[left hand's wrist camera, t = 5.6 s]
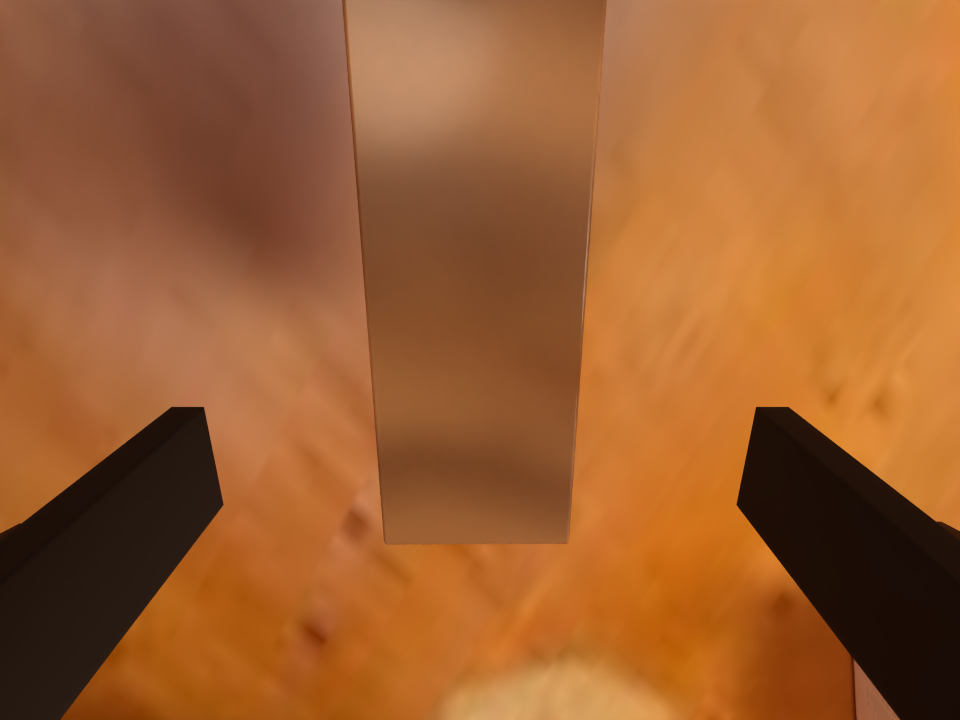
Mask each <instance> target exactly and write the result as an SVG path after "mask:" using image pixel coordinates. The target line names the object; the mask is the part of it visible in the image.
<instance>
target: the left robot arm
mask: <svg viewBox="0 0 960 720" xmlns="http://www.w3.org/2000/svg"><path fill="white" fill-rule="evenodd" d="M222 506H223V500H222V495H221V490H220V485H219V480H218V475H217V470H216V465H215V460H214V455H213V450H212V445H211V440H210V435H209V430H208V425H207V420H206V415H205V410H204V407H171V408H170V409H168V410H167V411H166V412H165V413H163V414H162V415H161V416H159V417H158V418H157V419H156V420H154V421H153V422H152V423H150V424H149V425H148V426H147V427H145V428H144V429H143V430H141V431H140V432H139V433H138V434H136V435H135V436H134V437H132V438H131V439H130V440H129V441H127V442H126V443H125V444H123V445H122V446H121V447H120V448H118V449H117V450H116V451H114V452H113V453H112V454H111V455H109V456H108V457H107V458H105V459H104V460H103V461H101V462H100V463H99V464H98V465H96V466H95V467H94V468H92V469H91V470H90V471H89V472H87V473H86V474H85V475H83V476H82V477H81V478H80V479H78V480H77V481H76V482H74V483H73V484H72V485H71V486H69V487H68V488H67V489H65V490H64V491H63V492H62V493H60V494H59V495H58V496H56V497H55V498H54V499H53V500H51V501H50V502H49V503H47V504H46V505H45V506H44V507H42V508H41V509H40V510H38V511H37V512H36V513H35V514H33V515H32V516H31V517H29V518H28V519H27V520H26V521H24V522H23V523H22V524H18V525H16V526H14V527H12V528H10V529H8V530H6V531H4V532H2V533H0V720H60V719H61V718H62V716H63V715H64V714H65V713H66V711H67V710H68V709H69V707H70V706H71V705H72V703H73V702H74V701H75V699H76V698H77V697H78V695H79V694H80V693H81V692H82V690H83V689H84V688H85V686H86V685H87V684H88V682H89V681H90V680H91V678H92V677H93V676H94V674H95V673H96V672H97V670H98V669H99V668H100V667H101V665H102V664H103V663H104V661H105V660H106V659H107V657H108V656H109V655H110V653H111V652H112V651H113V649H114V648H115V647H116V646H117V644H118V643H119V642H120V640H121V639H122V638H123V636H124V635H125V634H126V632H127V631H128V630H129V628H130V627H131V626H132V624H133V623H134V622H135V621H136V619H137V618H138V617H139V615H140V614H141V613H142V611H143V610H144V609H145V607H146V606H147V605H148V603H149V602H150V601H151V599H152V598H153V597H154V596H155V594H156V593H157V592H158V590H159V589H160V588H161V586H162V585H163V584H164V582H165V581H166V580H167V578H168V577H169V576H170V575H171V573H172V572H173V571H174V569H175V568H176V567H177V565H178V564H179V563H180V561H181V560H182V559H183V557H184V556H185V555H186V553H187V552H188V551H189V550H190V548H191V547H192V546H193V544H194V543H195V542H196V540H197V539H198V538H199V536H200V535H201V534H202V532H203V531H204V530H205V528H206V527H207V526H208V525H209V523H210V522H211V521H212V519H213V518H214V517H215V515H216V514H217V513H218V511H219V510H220V509H221V507H222ZM737 506H738V507H739V509H740V510H741V511H742V513H743V514H744V515H745V517H746V518H747V519H748V521H749V522H750V523H751V525H752V526H753V527H754V528H755V530H756V531H757V532H758V534H759V535H760V536H761V538H762V539H763V540H764V542H765V543H766V544H767V546H768V547H769V548H770V550H771V551H772V552H773V553H774V555H775V556H776V557H777V559H778V560H779V561H780V563H781V564H782V565H783V567H784V568H785V569H786V571H787V572H788V573H789V575H790V576H791V577H792V578H793V580H794V581H795V582H796V584H797V585H798V586H799V588H800V589H801V590H802V592H803V593H804V594H805V596H806V597H807V598H808V599H809V601H810V602H811V603H812V605H813V606H814V607H815V609H816V610H817V611H818V613H819V614H820V615H821V617H822V618H823V619H824V621H825V622H826V623H827V624H828V626H829V627H830V628H831V630H832V631H833V632H834V634H835V635H836V636H837V638H838V639H839V640H840V642H841V643H842V644H843V646H844V647H845V648H846V649H847V651H848V652H849V653H850V655H851V656H852V657H853V659H854V660H855V661H856V663H857V664H858V665H859V667H860V668H861V669H862V670H863V672H864V673H865V674H866V676H867V677H868V678H869V680H870V681H871V682H872V684H873V685H874V686H875V688H876V689H877V690H878V692H879V693H880V694H881V695H882V697H883V698H884V699H885V701H886V702H887V703H888V705H889V706H890V707H891V709H892V710H893V711H894V713H895V714H896V715H897V716H898V718H899V719H900V720H960V531H958V530H956V529H954V528H952V527H951V526H949V525H947V524H945V523H943V522H936V521H934V520H933V519H932V518H931V517H929V516H928V515H927V514H925V513H924V512H923V511H922V510H920V509H919V508H918V507H916V506H915V505H914V504H913V503H911V502H910V501H909V500H907V499H906V498H905V497H904V496H902V495H901V494H900V493H898V492H897V491H896V490H895V489H893V488H892V487H891V486H889V485H888V484H887V483H886V482H884V481H883V480H882V479H880V478H879V477H878V476H877V475H875V474H874V473H873V472H871V471H870V470H869V469H868V468H866V467H865V466H864V465H862V464H861V463H860V462H859V461H857V460H856V459H855V458H853V457H852V456H851V455H849V454H848V453H847V452H846V451H844V450H843V449H842V448H840V447H839V446H838V445H837V444H835V443H834V442H833V441H831V440H830V439H829V438H828V437H826V436H825V435H824V434H822V433H821V432H820V431H819V430H817V429H816V428H815V427H813V426H812V425H811V424H810V423H808V422H807V421H806V420H804V419H803V418H802V417H801V416H799V415H798V414H797V413H795V412H794V411H793V410H792V409H790V408H789V407H756V410H755V415H754V420H753V425H752V430H751V435H750V440H749V445H748V450H747V455H746V460H745V465H744V470H743V475H742V480H741V485H740V490H739V495H738V500H737Z"/></svg>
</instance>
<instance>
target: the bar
mask: <svg viewBox="0 0 960 720" xmlns="http://www.w3.org/2000/svg"><path fill="white" fill-rule="evenodd" d="M342 4H343V17H344V29H345V42H346V55H347V68H348V81H349V94H350V107H351V120H352V133H353V146H354V159H355V172H356V184H357V197H358V210H359V223H360V236H361V249H362V262H363V275H364V288H365V301H366V314H367V327H368V339H369V352H370V365H371V378H372V391H373V404H374V417H375V430H376V443H377V456H378V469H379V482H380V494H381V507H382V520H383V533H384V542H385V544H566V543H568V541H569V529H570V515H571V501H572V486H573V472H574V458H575V444H576V429H577V415H578V401H579V386H580V372H581V358H582V343H583V329H584V315H585V300H586V286H587V272H588V257H589V243H590V229H591V214H592V200H593V186H594V171H595V157H596V143H597V128H598V114H599V100H600V86H601V71H602V57H603V43H604V28H605V14H606V0H342Z"/></svg>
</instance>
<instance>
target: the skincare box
mask: <svg viewBox="0 0 960 720" xmlns="http://www.w3.org/2000/svg"><path fill="white" fill-rule="evenodd" d="M854 675H855V697H856V717H857V720H900V719H899V718H898V716H897V715H896V714H895V713H894V711H893V710H892V709H891V707H890V706H889V705H888V703H887V702H886V701H885V699H884V698H883V697H882V695H881V694H880V693H879V692H878V690H877V689H876V688H875V686H874V685H873V684H872V682H871V681H870V680H869V678H868V677H867V676H866V674H865V673H864V672H863V670H862V669H861V668H860V667H859V665H858V664H857V663H856V661H855V660H854Z"/></svg>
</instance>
